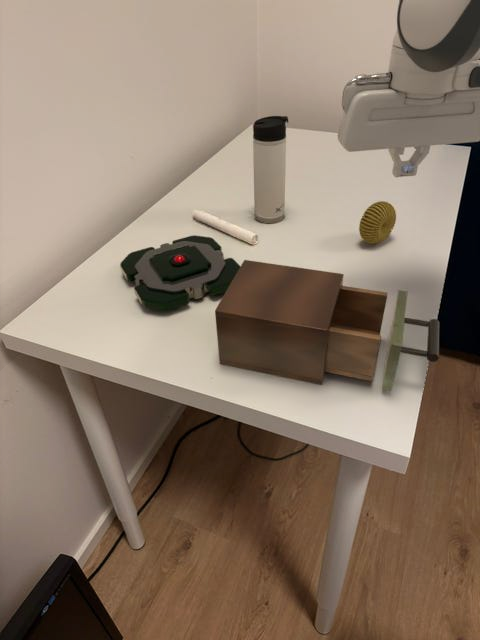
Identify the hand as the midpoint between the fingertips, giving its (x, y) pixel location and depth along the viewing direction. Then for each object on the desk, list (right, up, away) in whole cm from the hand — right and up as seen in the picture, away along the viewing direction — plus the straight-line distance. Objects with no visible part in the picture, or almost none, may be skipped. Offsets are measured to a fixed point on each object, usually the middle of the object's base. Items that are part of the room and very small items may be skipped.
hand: (403, 175), depth 70 cm
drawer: (-7, -26, -3) cm, 27 cm away
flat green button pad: (-34, -14, +15) cm, 40 cm away
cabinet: (-18, -25, +1) cm, 30 cm away
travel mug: (-17, +1, +32) cm, 36 cm away
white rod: (-27, -3, +28) cm, 39 cm away
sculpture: (+2, -6, +22) cm, 23 cm away
